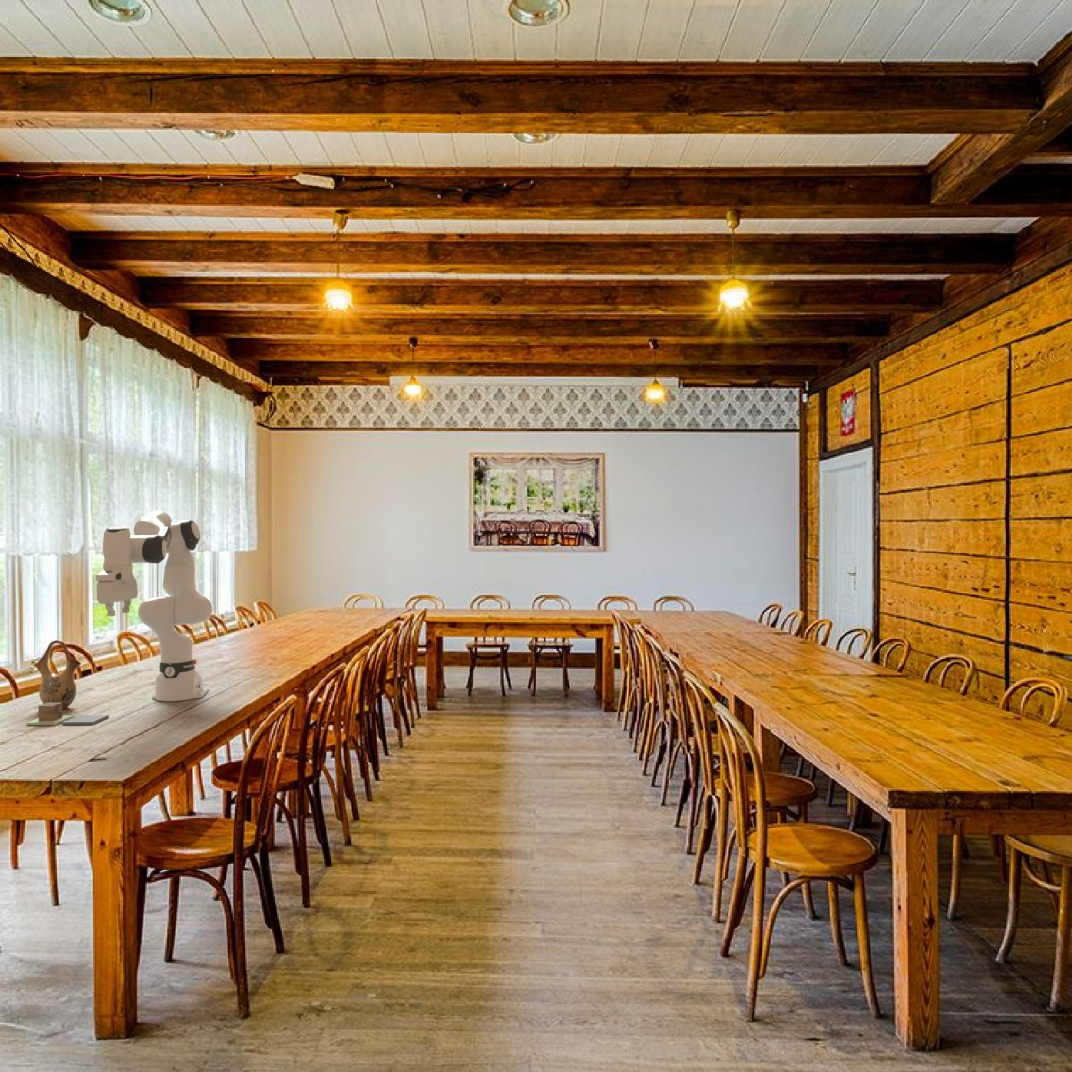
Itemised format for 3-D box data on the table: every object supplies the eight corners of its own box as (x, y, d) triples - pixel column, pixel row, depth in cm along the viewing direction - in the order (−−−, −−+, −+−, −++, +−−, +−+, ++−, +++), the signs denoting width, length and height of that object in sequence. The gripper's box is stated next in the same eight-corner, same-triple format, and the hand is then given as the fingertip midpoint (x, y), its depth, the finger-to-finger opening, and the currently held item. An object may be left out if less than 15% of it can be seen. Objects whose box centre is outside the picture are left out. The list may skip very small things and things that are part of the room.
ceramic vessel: (87, 705, 296) (86, 637, 296) (75, 711, 287) (74, 641, 287) (41, 706, 295) (40, 638, 295) (27, 712, 286) (26, 642, 286)
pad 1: (44, 718, 276) (44, 715, 276) (73, 718, 276) (73, 715, 276) (26, 725, 266) (26, 722, 266) (56, 725, 266) (56, 722, 266)
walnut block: (47, 717, 274) (47, 702, 274) (62, 717, 274) (62, 702, 274) (38, 720, 269) (38, 705, 269) (53, 720, 269) (53, 705, 269)
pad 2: (79, 718, 276) (79, 715, 276) (108, 717, 276) (108, 714, 276) (62, 725, 266) (62, 722, 266) (92, 725, 266) (92, 722, 266)
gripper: (124, 572, 285) (125, 610, 285) (92, 576, 264) (93, 618, 265) (142, 571, 285) (142, 610, 285) (111, 576, 264) (112, 618, 265)
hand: (118, 614), depth 275 cm, fingers open, 8 cm apart
